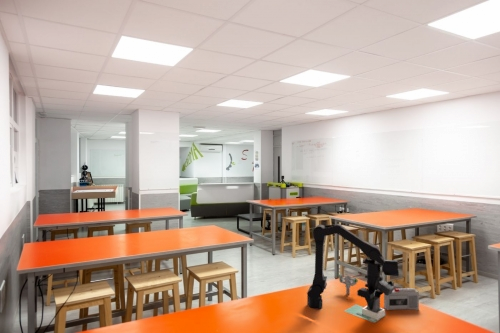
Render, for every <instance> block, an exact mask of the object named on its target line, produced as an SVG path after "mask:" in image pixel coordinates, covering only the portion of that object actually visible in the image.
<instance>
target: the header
mask: <svg viewBox="0 0 500 333" xmlns="http://www.w3.org/2000/svg"><path fill="white" fill-rule="evenodd" d="M363 307H364V308H362V314H363V315H366V316H368V317H371V318H375V319H377V320H378V319H380V318H381V317H383V316H384V315H386V309H385V308H382V307H380V311H379V312H377V313H376V312H373V311H370V310H367V305H365V306H363ZM384 317H385V316H384ZM384 317H383V318H384ZM381 319H382V318H381ZM381 319H380V320H381ZM378 321H379V320H378Z"/></svg>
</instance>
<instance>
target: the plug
mask: <svg viewBox="0 0 500 333" xmlns="http://www.w3.org/2000/svg"><path fill="white" fill-rule="evenodd" d="M366 306H367V310H370V311H373V312H376V313H377V312H379V311H380V308H381V297H380V298H379V297H376V298H374V303H373V309H372V310H371V309H370V308H369V306H368V304H366Z"/></svg>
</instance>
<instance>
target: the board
mask: <svg viewBox="0 0 500 333" xmlns="http://www.w3.org/2000/svg"><path fill="white" fill-rule="evenodd" d="M364 307H365V306H361V305H359V304H353V305H352V306H350V307H349V308H347V309H345V310H343V312H344V313H347V314H350V315H353V316H355V317H357V318H361V319H363V320H366V321H367V322H368V321H369V322H371V323H375V324H376V322H378V321H379V320H381V319H382V318H385V316H386V317H387V315H386V314H385V315H384V316H383V317H381V318H380V319H378V320H377V319H375V318H371V317H368V316H366V315H363V314H362V308H364Z"/></svg>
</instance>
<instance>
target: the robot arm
mask: <svg viewBox="0 0 500 333" xmlns="http://www.w3.org/2000/svg"><path fill="white" fill-rule="evenodd" d="M312 234H313V240H314V241H313V242H314V244H315V245H314V246H315V250H314V252H315V253H314V254H315V255H314V256H315V257H314V276H313V279H312V284H311V285H310V286H309V288H308V290H307V292H306V295H307V297H306V299H307V301H306V302H307V306H308V307H309V308H311V309H313V310H314V309H316V310H321V309H323V297H322V294H323V293H324V290H326V289H327V286H328V284H327V280H328V276H325V275H324V262H325V261H324V260H325V259H324V256H325V255H324V254H325V250H324V249H325V241H326V237H328V236H331V235H335V234H337V235H339V236H340V237H342V238H343V239H345V240H346V241H348V242H349V243H351V244H353V245H354V246H355V247H357V248H358V249H359V250H360V251H361V252H362V253H363V254H364V255H365V256H366V257H365V258H364V259H362V264H365V265H366V274H365V275H364V278H366V283H364V287H361V288H359V289H358V290H357V292H356V294H357V296H358V297H361V298H364V299H365V302H366V303H367V304H368V306H369V308H370V309H371V310H372V309H373V303H374V298H376V297H379V298H380V299H381V295H384V294H385V295H387V296H388V295H389V294H391V293H392V291H393V290H395V289H396V288H395V284H394V281H392V280H389V281H385V280H384V278H383V276H382V275H381V273H383V274H384V276H391V277H399V273H400V272H399V262H398V260H396V259H395V260H394V259H393V260H391V259H385V257H384V256H383V254H382V253H381V250H380V247H379V246H378V245H376V244H374V243H372V242H370V241H366V240H364V239H362V238H361V237H359V236H358V235H356V234H355V233H353V232H352V231H351V230H349V229H347V228H345V227H344V226H342V224H340V223H336V224H335V223H334V224H327V225H324V224H317V225H316V226H315V227H314V229H313V232H312ZM367 304H366V305H367Z"/></svg>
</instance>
